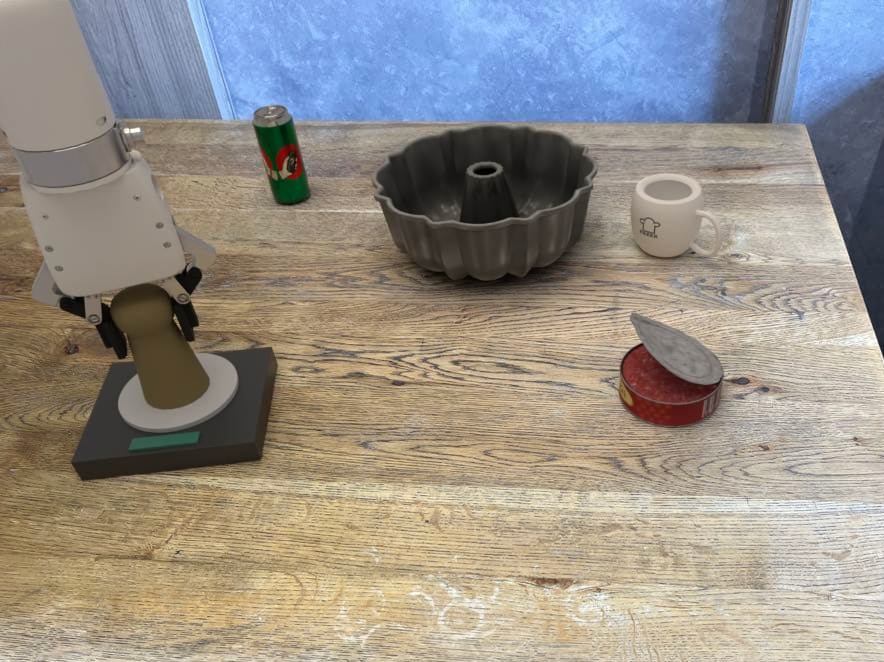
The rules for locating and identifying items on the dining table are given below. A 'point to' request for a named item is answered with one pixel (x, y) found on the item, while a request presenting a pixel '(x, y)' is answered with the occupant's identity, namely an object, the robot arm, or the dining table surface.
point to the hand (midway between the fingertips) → (156, 340)
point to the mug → (670, 215)
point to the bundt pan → (486, 198)
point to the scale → (179, 420)
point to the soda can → (281, 154)
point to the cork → (158, 347)
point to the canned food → (669, 376)
